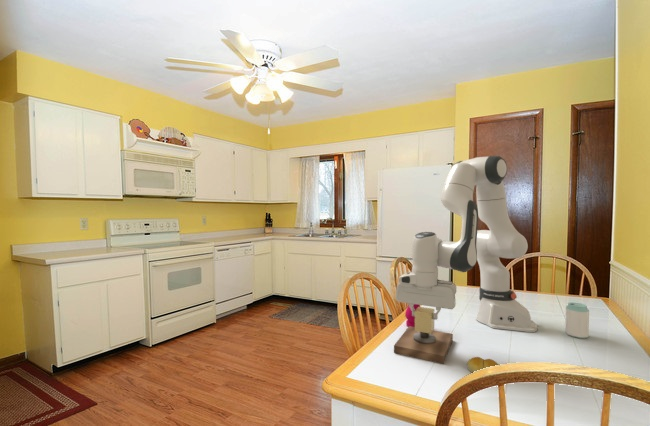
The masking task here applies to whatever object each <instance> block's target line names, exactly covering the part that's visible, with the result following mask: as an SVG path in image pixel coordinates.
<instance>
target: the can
mask: <svg viewBox="0 0 650 426" xmlns="http://www.w3.org/2000/svg"><path fill="white" fill-rule="evenodd" d="M564 332H565V333H566V334H567V335H568V336H569V337H572V338H576V339H580V340H581V339H586V338H589V336H590V310H589V309H588V305H587V304H584V303H580V302H574V301H573V302H568V303H567V305H566V306H565V331H564Z"/></svg>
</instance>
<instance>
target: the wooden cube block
mask: <svg viewBox="0 0 650 426" xmlns="http://www.w3.org/2000/svg"><path fill="white" fill-rule="evenodd" d="M433 313H435V308H433V307H432V308H430V307H425V306H420V307H418V308H417V309H416V310H415V331H419V332H424V333H429V334H431V333H432V332H433V331H435V330H434V329H435V320H434V319H432V318H433V316H432V314H433Z"/></svg>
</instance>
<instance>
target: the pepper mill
mask: <svg viewBox="0 0 650 426" xmlns="http://www.w3.org/2000/svg"><path fill="white" fill-rule="evenodd" d="M413 307H414V309H415V310H416V309H417V308H418V307H421V305H417V304H414V306H413ZM404 316H405V318H406V321H405V322H406V323H405V325H406V327H407V328H408V327H409V326H411V327H415V316H412V311H411V309H410V307H409V304H408V305H407V308H406V310H405V313H404Z"/></svg>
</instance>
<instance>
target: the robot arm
mask: <svg viewBox="0 0 650 426" xmlns="http://www.w3.org/2000/svg"><path fill="white" fill-rule="evenodd" d="M506 175H508V164H507V162H506V160H505V159H504V158H503V157H502V156H500V155H490V156H478V157H474V158H469V159H465V160H459V161H457V162H454V164H452V166H451V168H450V170H449V171H448V174H447V175H446V178H445V180H444V183H443V187H442V190H441V193H440V201H441V203H442V206H443V207H444V208H446V210H448V211H450V212H451V213H453V214H456V215H458V216H459V217H461V231H460V239H459V240H458V241H449V240H448V241H447V240H443V239H440V238H439V237H438V236H437V234H436V233H435V232H432V231H422V232H417V233H415V235H414V236H413V240H412V248H411V249H412V250H411V252H412V253H411V259H412V267H411V271H410V272H406V273H403V274H401V275H400V276H399V277H398V282H399V283H397V284H396V288H395V300H396V302H398V303H403V304H404V303H405V304H408V305H409V307H410V309H411V311H412V316H415V309H414V307H413V306H414V304H417V305H420V306H423V307H425V306H426V307H432V308H435V311H436V312H434V313H433V314H432V316H433V318H432V319H434V321H435V320H436V321H437V320H438V319H439V316H438V315H439V313H440V312H441V310H442V309H445V310H446V309H447V310H454V309H455V307H456V306H457V305H456V304H457V303H456V302H457V299H456V294H457V286H456V284H455V283H454V282H452V281H451V280H443V279H439V268H438V267H440V268H445V269H449V270H454V271H456V272H457V271H458V272H459V273H467V272H469V271H470V270H472V269H473V268H474V267H475V265H477V263H478V266H479V267H478V268H479V272H480V274H479V275H480V276H479V277H480V286H479V291H478V298H479V306H478V311H477V314H476V317H475V319H476V321H478V322H479V323H480V324H484V325H487V326H488V327H490V328H492V329H496V330H497V329H499V330H506V331H507V330H508V331H517V332H527V333H535V332H537V331H538V324H537V323H536V321H534V320H532V317H531V314H530V312H529V310H528V308H526V306H524V305H522V304H521V303H520V302H519V301H517V300H516V299H517V293H516V292H514V290H512V289H510V285H511V284H510V283H511V282H510V279H511V277H510V275H511V273H510V271H509V269H508V268H507V267H505V265H504V264H503V262H501V260H500V258H502V259H519V258H522V257H524V256H525V255H526V253H527V251H528V248H529V246H528V241H527V239H526V237H525V236H524V235H523V234H521V233H520V232H519V231H518V230H517V229H516V228H515V226H514V225H513V223H512V221H511V219H510V217H509V212H508V206H507V205H508V202H507V194H506V189H505V185H504V179H505V178H506ZM475 187H476V191H475ZM474 192H476V202H475V201H474V199H473V197H474V196H473V195H474ZM479 221H481V222H483V223H484V224H485V225H486V227H487V228H488V229H489V230H488V229H481V230H480V229H478V227H479V226H478V225H479Z"/></svg>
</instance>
